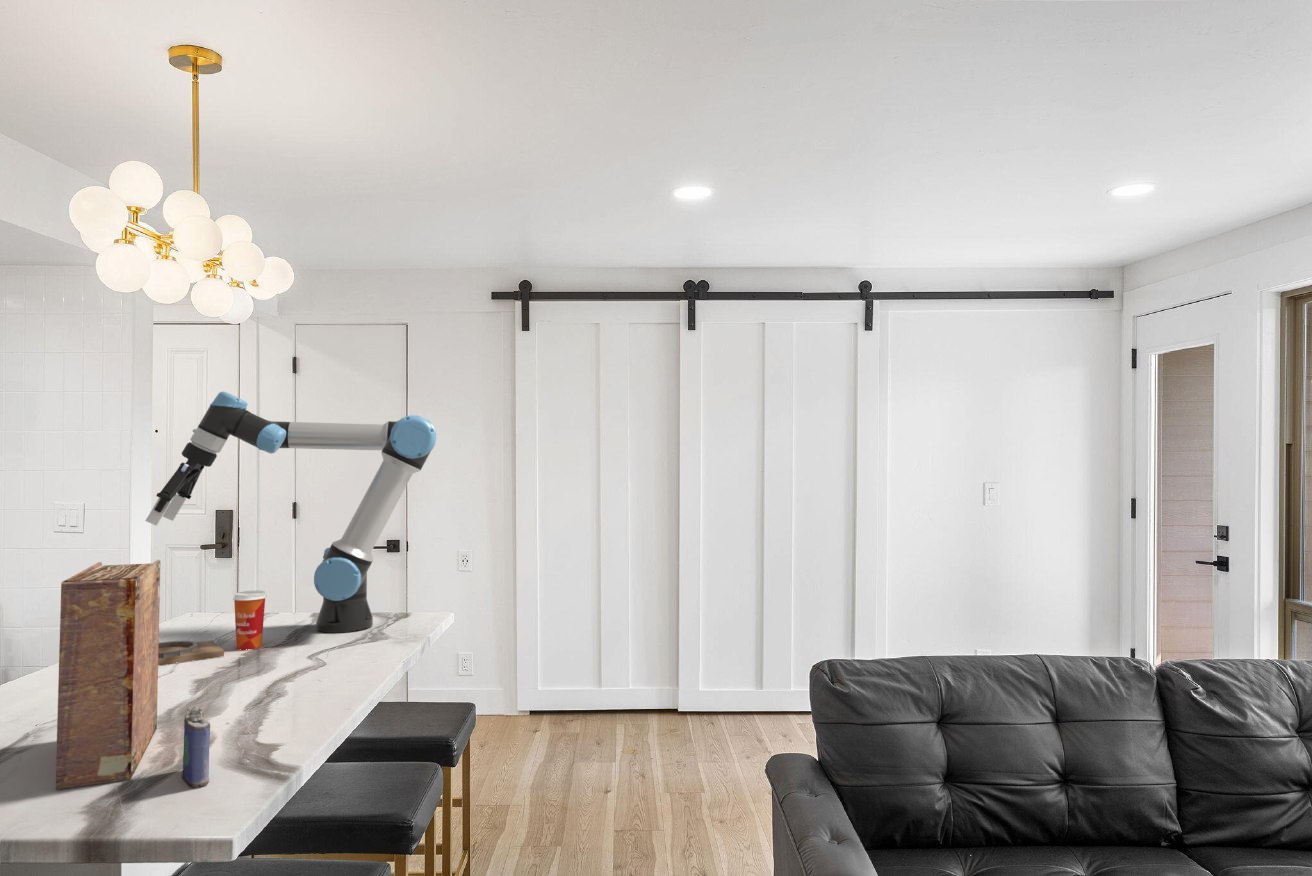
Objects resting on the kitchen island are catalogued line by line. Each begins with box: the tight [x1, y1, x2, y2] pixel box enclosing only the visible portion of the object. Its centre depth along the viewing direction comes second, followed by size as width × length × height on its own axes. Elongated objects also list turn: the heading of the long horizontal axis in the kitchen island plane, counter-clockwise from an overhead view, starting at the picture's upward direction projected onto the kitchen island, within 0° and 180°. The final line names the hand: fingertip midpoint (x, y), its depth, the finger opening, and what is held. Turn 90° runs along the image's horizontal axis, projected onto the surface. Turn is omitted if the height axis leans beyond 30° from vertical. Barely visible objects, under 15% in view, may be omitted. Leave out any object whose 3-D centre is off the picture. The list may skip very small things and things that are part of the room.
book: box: [55, 559, 161, 791], centre depth 126 cm, size 25×9×30 cm, turn 25°
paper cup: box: [232, 590, 267, 651], centre depth 199 cm, size 8×8×14 cm
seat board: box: [158, 639, 225, 666], centre depth 188 cm, size 22×14×3 cm, turn 131°
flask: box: [181, 705, 211, 789], centre depth 117 cm, size 9×3×11 cm, turn 39°
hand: (159, 520), depth 200 cm, fingers open, 13 cm apart
